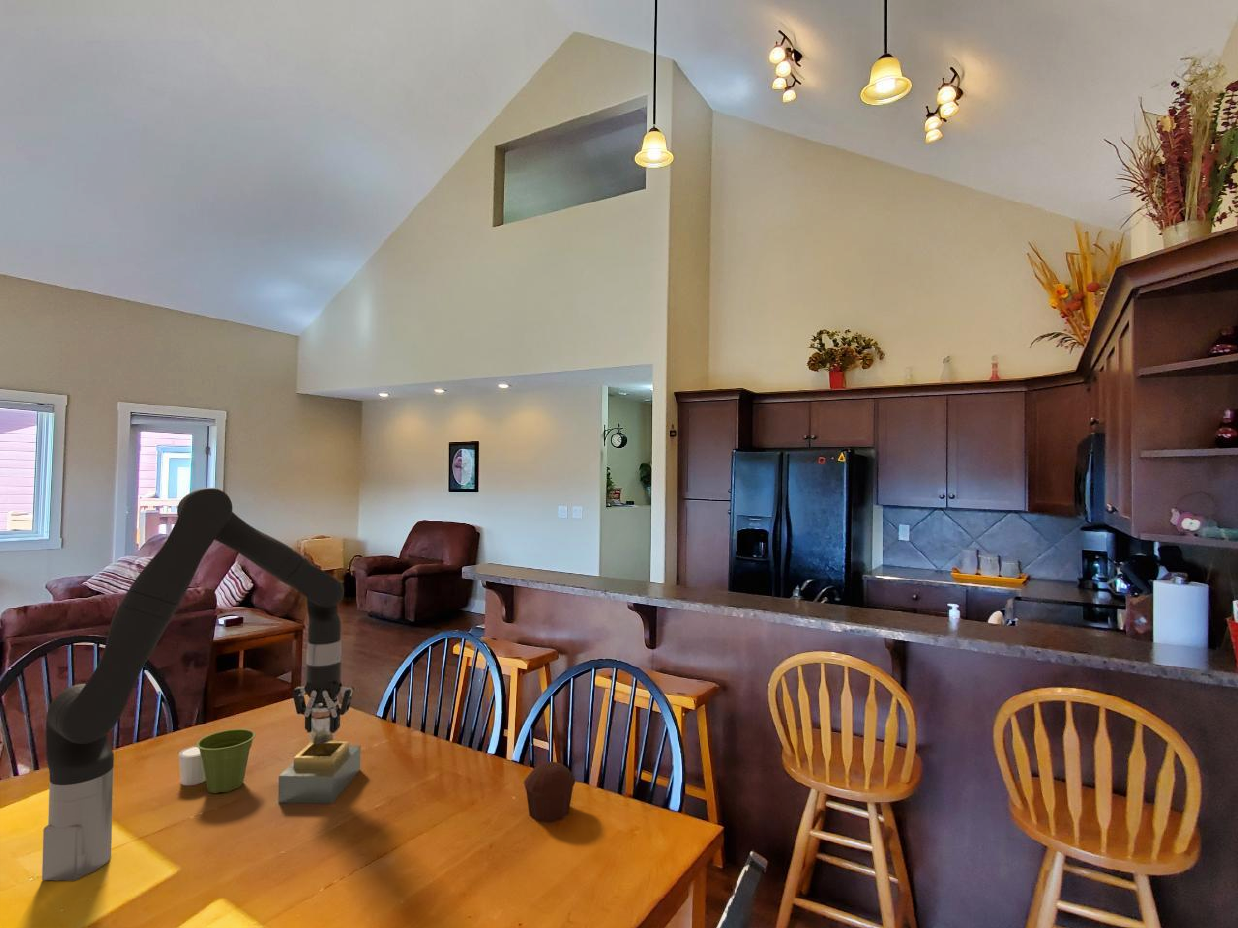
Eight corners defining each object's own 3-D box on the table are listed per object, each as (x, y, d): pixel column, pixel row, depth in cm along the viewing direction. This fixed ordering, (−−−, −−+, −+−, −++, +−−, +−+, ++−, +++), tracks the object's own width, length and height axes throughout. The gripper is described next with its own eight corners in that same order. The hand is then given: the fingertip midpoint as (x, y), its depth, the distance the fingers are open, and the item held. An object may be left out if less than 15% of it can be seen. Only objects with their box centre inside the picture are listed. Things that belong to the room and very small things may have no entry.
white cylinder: (199, 787, 148) (200, 757, 148) (170, 786, 148) (171, 756, 149) (218, 773, 155) (219, 744, 155) (191, 772, 155) (191, 743, 155)
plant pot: (265, 775, 154) (266, 729, 154) (231, 801, 142) (232, 750, 143) (220, 772, 155) (221, 726, 156) (182, 797, 144) (183, 747, 144)
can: (328, 743, 148) (329, 705, 148) (306, 743, 148) (307, 704, 148) (337, 734, 153) (338, 697, 153) (316, 734, 153) (317, 697, 153)
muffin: (565, 829, 134) (566, 781, 134) (516, 822, 136) (516, 775, 136) (580, 800, 146) (581, 756, 146) (534, 794, 148) (535, 751, 148)
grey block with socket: (331, 803, 142) (332, 765, 142) (278, 802, 142) (279, 764, 142) (360, 768, 159) (361, 734, 159) (312, 767, 159) (313, 733, 159)
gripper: (285, 664, 147) (283, 737, 147) (347, 665, 147) (346, 738, 147) (301, 654, 154) (299, 724, 154) (360, 655, 154) (359, 725, 154)
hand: (322, 730), depth 150 cm, fingers closed on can, 5 cm apart
